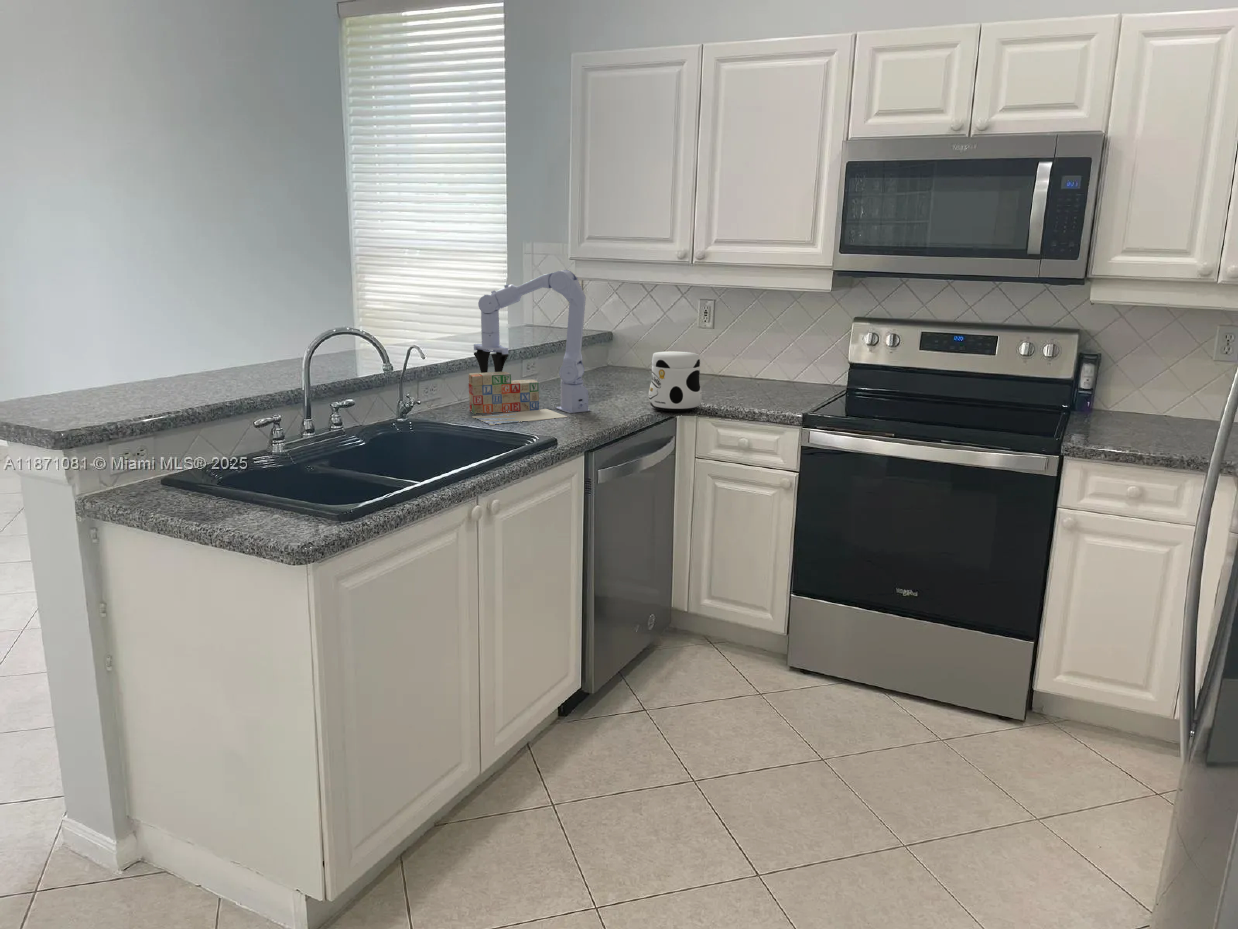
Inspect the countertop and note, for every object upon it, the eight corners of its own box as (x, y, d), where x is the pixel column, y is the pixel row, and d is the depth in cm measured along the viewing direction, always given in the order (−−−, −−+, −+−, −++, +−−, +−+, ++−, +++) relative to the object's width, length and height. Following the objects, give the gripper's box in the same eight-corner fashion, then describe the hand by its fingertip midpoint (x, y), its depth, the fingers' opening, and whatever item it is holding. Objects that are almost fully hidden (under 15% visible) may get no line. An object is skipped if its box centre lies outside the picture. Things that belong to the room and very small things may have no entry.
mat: (567, 417, 279) (567, 416, 279) (490, 425, 266) (490, 424, 266) (546, 409, 291) (546, 408, 291) (471, 417, 278) (471, 416, 278)
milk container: (637, 408, 294) (638, 353, 290) (672, 402, 306) (674, 349, 302) (676, 416, 282) (678, 359, 278) (712, 409, 294) (714, 354, 290)
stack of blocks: (534, 407, 295) (533, 369, 292) (539, 410, 290) (538, 372, 287) (469, 411, 288) (468, 372, 285) (473, 414, 282) (472, 375, 279)
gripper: (515, 333, 288) (515, 375, 292) (484, 329, 297) (485, 370, 301) (498, 334, 283) (499, 377, 286) (468, 331, 292) (469, 372, 295)
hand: (491, 374), depth 293 cm, fingers open, 6 cm apart
